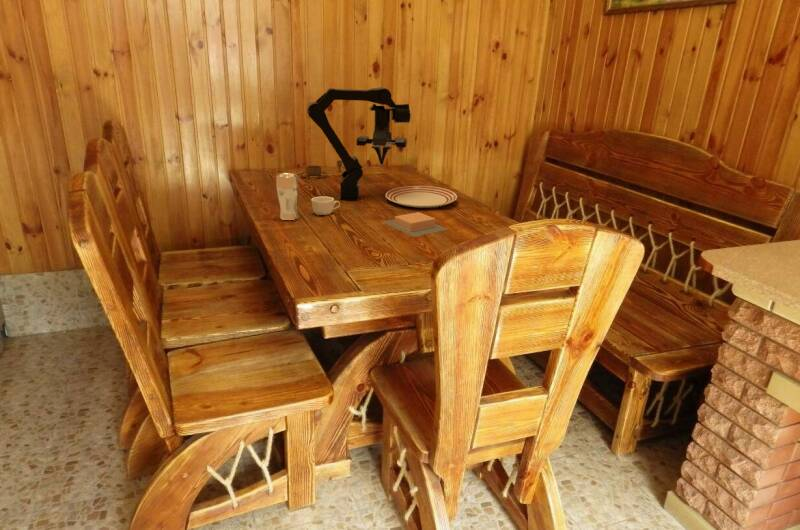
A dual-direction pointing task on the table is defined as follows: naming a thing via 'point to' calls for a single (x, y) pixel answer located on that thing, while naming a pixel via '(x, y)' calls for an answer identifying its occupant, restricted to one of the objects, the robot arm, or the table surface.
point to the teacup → (323, 205)
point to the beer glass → (287, 195)
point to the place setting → (318, 170)
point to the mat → (417, 232)
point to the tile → (414, 221)
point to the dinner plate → (421, 196)
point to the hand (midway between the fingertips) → (381, 164)
